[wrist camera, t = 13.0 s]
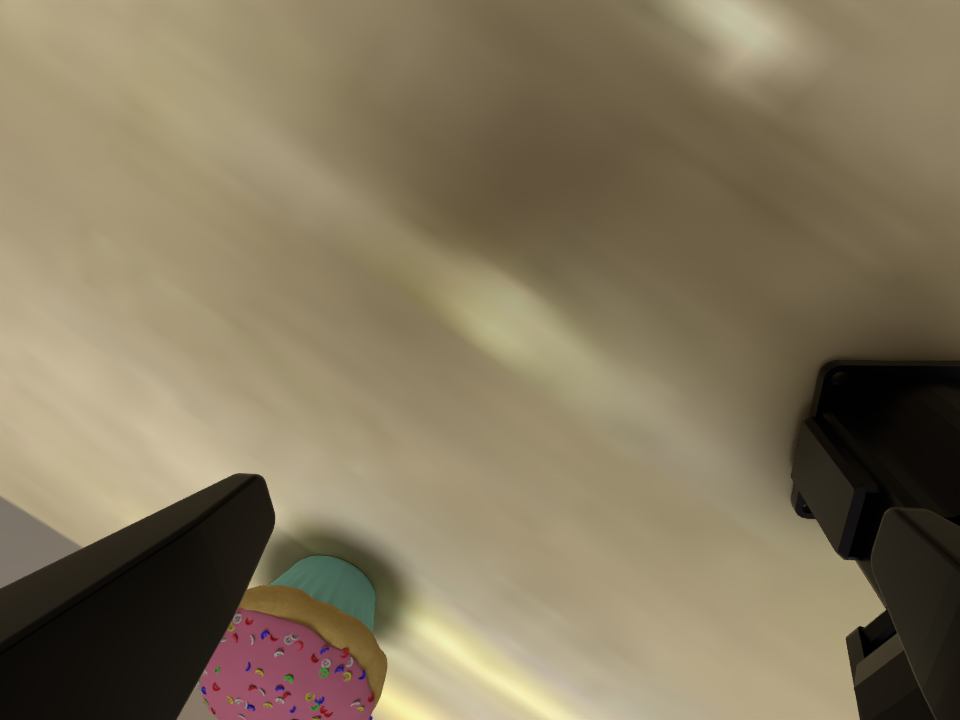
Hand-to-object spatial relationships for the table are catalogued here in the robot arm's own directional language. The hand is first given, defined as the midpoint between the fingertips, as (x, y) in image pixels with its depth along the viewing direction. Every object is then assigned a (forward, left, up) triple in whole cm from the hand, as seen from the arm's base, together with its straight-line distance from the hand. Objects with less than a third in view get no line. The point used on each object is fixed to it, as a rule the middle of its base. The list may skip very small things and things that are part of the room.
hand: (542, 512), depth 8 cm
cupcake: (+12, +16, -12) cm, 23 cm away
